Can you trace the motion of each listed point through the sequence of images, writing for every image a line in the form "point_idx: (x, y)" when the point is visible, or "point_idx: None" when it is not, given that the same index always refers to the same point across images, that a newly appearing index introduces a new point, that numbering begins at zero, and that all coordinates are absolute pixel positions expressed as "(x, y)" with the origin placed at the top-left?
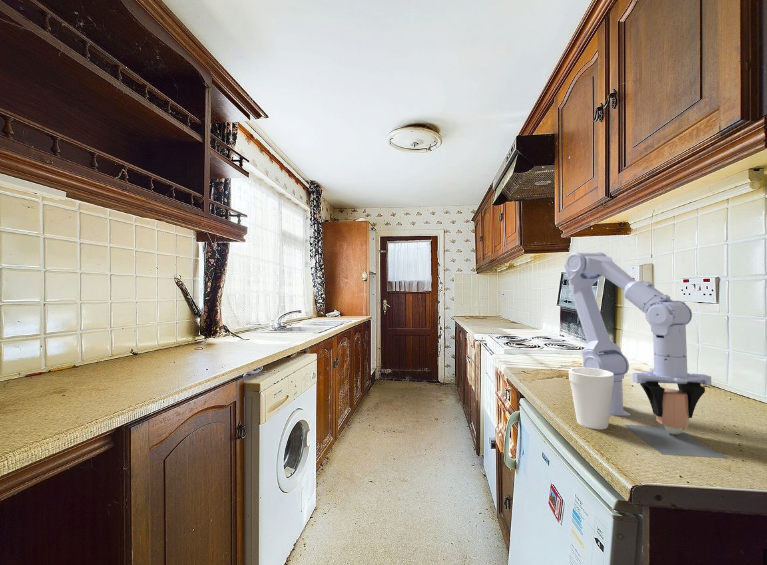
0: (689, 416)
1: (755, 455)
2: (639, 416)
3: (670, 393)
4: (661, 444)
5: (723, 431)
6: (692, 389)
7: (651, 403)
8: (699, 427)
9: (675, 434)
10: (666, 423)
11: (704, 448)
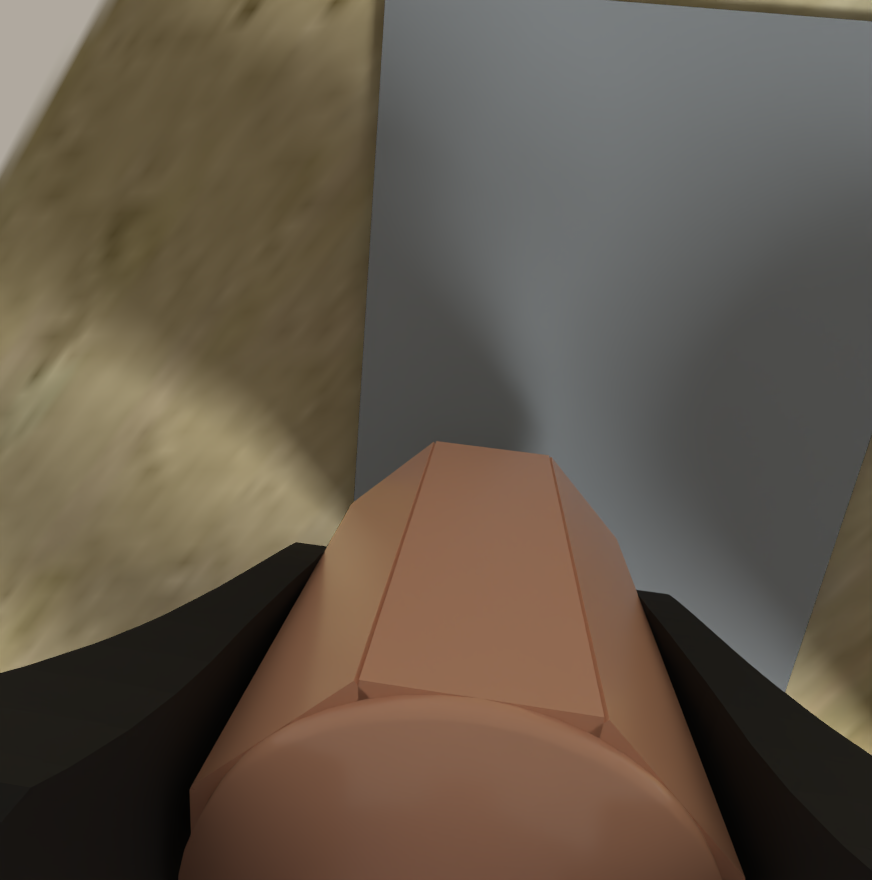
0: (317, 549)
1: (67, 126)
2: None
3: (586, 846)
4: (795, 285)
5: (6, 589)
6: (52, 835)
7: None
8: None
9: None
10: (596, 523)
11: (438, 205)
